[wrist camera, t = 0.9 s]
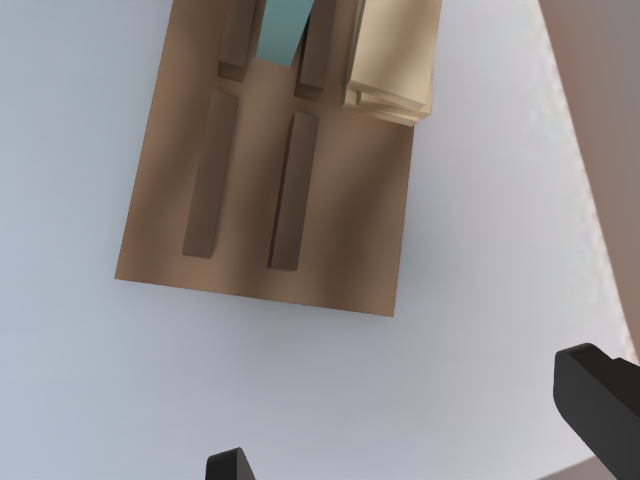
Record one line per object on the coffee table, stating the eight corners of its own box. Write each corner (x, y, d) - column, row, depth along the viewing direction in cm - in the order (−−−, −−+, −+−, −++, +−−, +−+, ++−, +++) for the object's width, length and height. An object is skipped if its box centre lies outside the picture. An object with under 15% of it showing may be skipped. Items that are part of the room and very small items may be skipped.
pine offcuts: (335, 107, 29) (349, 88, 26) (353, -20, 31) (368, -52, 28) (416, 129, 31) (438, 112, 28) (430, 6, 32) (451, -22, 29)
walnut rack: (117, 278, 25) (106, 277, 22) (195, -87, 29) (193, -128, 26) (387, 316, 30) (406, 319, 27) (423, -8, 33) (443, -35, 31)
